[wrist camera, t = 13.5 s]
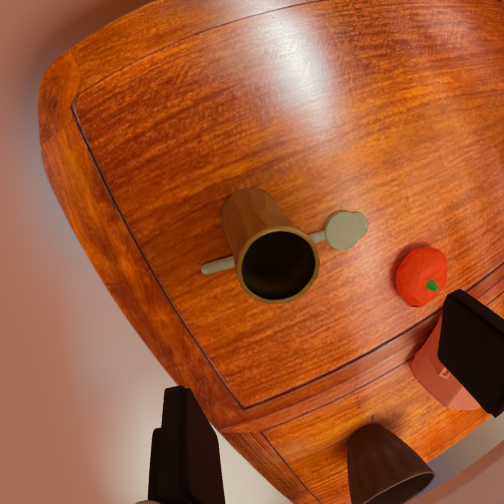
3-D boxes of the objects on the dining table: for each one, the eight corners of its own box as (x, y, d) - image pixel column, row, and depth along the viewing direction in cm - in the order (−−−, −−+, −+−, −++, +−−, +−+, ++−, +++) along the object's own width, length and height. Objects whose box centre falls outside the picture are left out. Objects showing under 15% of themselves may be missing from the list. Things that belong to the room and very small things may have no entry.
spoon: (207, 286, 34) (207, 290, 33) (195, 249, 33) (194, 253, 32) (368, 239, 35) (373, 242, 34) (363, 203, 33) (368, 205, 32)
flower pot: (313, 456, 49) (336, 523, 34) (358, 407, 45) (397, 478, 30) (368, 456, 52) (395, 511, 37) (411, 411, 49) (449, 467, 34)
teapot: (379, 360, 42) (425, 424, 28) (425, 288, 39) (489, 340, 25) (451, 376, 47) (490, 421, 34) (487, 322, 44) (534, 361, 31)
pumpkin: (440, 261, 38) (469, 278, 32) (404, 303, 39) (429, 327, 33) (417, 228, 35) (448, 244, 29) (377, 275, 37) (404, 298, 31)
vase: (286, 232, 33) (335, 290, 20) (232, 252, 33) (248, 324, 20) (268, 179, 31) (312, 204, 18) (212, 200, 31) (213, 240, 18)
